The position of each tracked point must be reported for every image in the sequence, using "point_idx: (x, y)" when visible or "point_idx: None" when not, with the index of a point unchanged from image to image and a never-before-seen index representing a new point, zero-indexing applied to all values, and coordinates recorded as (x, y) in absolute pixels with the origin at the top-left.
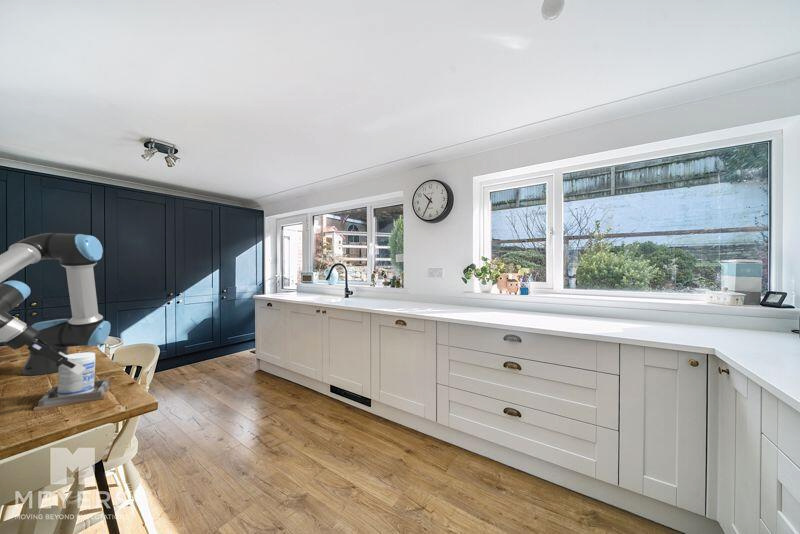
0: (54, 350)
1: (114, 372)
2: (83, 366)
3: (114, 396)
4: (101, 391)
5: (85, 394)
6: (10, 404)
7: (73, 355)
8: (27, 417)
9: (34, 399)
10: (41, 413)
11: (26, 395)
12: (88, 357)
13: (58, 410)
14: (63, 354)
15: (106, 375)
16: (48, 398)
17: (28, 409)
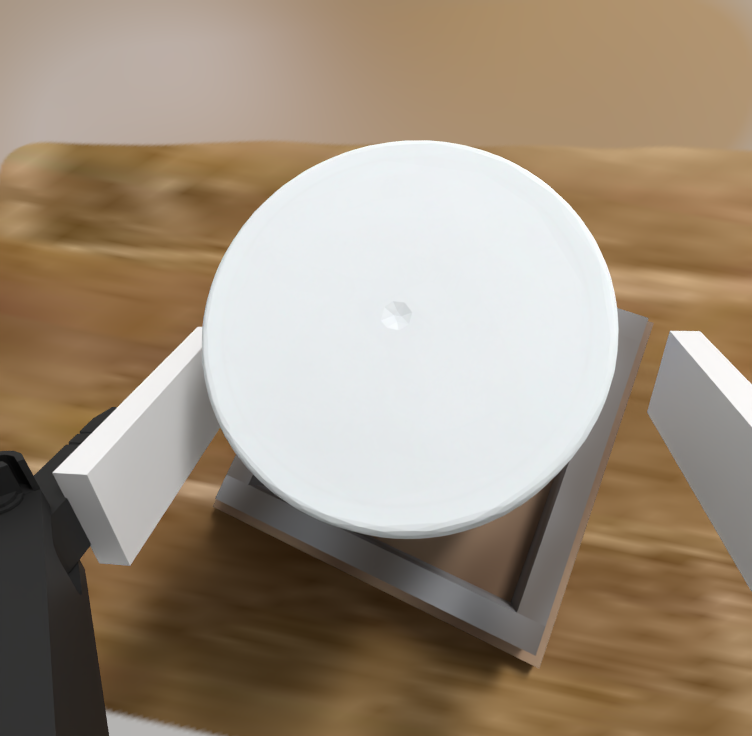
0: (51, 567)
1: (85, 166)
2: (688, 347)
3: (636, 271)
4: (626, 314)
5: (619, 399)
6: (246, 721)
7: (353, 361)
8: (662, 721)
9: (263, 598)
10: (642, 642)
11: (124, 610)
12: (585, 239)
13: (664, 558)
14: (129, 437)
15: (109, 209)
16: (430, 567)
17: (470, 674)
